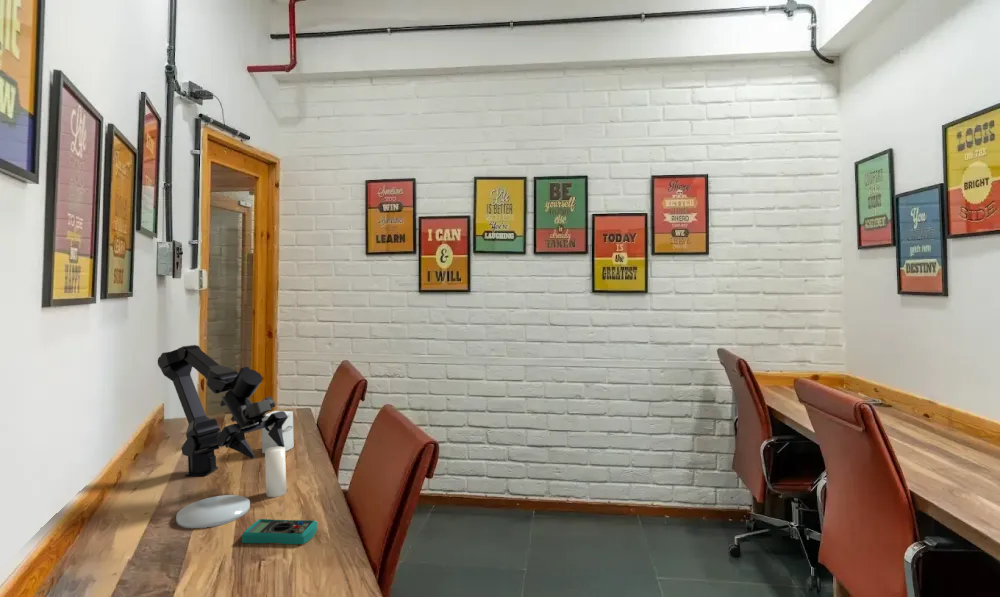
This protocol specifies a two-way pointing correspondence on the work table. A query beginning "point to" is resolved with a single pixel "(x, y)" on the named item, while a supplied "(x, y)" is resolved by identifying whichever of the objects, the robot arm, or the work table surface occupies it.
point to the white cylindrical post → (275, 471)
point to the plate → (213, 511)
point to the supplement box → (286, 432)
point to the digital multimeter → (280, 531)
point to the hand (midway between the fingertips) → (268, 452)
